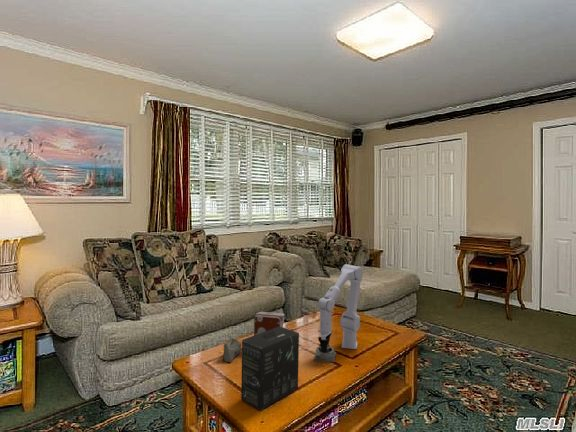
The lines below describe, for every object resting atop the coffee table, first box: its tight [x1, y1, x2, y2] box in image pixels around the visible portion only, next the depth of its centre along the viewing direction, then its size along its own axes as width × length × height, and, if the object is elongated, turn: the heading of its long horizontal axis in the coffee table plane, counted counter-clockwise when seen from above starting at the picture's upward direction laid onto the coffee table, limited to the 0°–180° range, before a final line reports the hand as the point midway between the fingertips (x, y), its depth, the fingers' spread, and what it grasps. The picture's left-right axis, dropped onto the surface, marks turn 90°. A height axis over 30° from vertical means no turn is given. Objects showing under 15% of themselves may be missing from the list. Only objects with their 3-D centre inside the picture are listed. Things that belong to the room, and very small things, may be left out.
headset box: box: [240, 326, 300, 411], centre depth 142 cm, size 22×12×26 cm, turn 139°
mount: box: [313, 345, 337, 363], centre depth 176 cm, size 10×10×4 cm
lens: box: [318, 343, 331, 352], centre depth 176 cm, size 5×5×5 cm
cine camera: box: [253, 311, 288, 336], centre depth 181 cm, size 9×19×20 cm, turn 78°
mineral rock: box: [222, 337, 242, 363], centre depth 175 cm, size 13×11×10 cm
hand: (325, 348), depth 176 cm, fingers open, 7 cm apart
